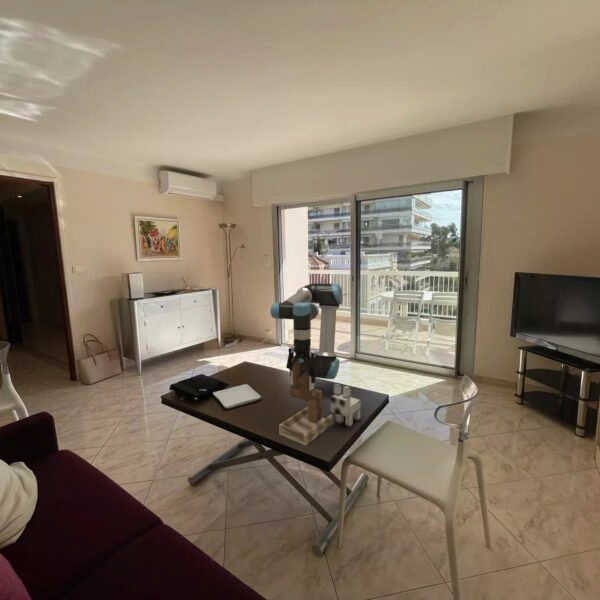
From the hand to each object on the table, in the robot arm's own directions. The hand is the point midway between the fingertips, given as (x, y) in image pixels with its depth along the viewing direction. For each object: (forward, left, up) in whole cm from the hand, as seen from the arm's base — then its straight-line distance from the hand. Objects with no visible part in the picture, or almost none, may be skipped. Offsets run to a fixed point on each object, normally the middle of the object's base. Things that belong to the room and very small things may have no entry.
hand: (302, 386), depth 143 cm
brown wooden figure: (0, -1, -5) cm, 6 cm away
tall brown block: (-10, 0, -20) cm, 23 cm away
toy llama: (-20, +12, -22) cm, 32 cm away
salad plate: (-5, -50, -22) cm, 55 cm away
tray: (-3, 0, -22) cm, 22 cm away
